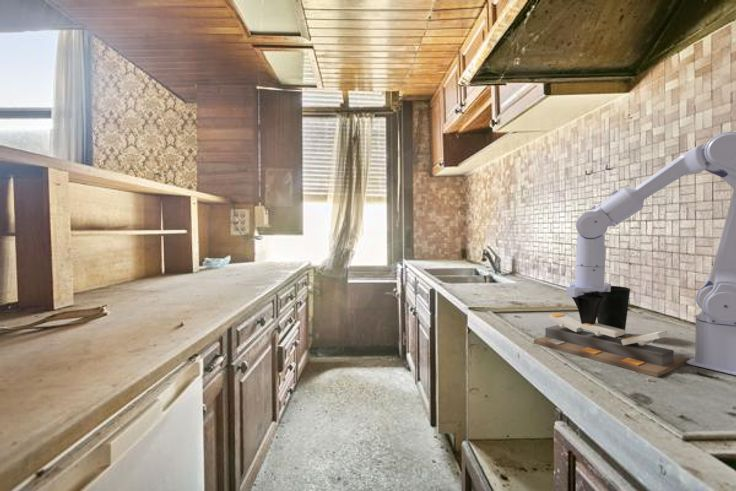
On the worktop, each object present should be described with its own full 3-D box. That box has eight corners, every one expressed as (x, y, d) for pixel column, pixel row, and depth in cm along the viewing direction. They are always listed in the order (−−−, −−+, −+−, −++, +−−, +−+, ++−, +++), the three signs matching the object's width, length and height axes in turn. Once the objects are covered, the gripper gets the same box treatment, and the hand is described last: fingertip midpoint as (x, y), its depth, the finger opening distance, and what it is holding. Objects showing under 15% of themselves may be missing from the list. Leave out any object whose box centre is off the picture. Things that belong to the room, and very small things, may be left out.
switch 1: (585, 332, 88) (587, 325, 87) (575, 334, 86) (577, 327, 85) (557, 319, 94) (559, 312, 93) (547, 321, 92) (549, 314, 91)
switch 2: (624, 337, 81) (625, 329, 81) (614, 340, 79) (615, 332, 79) (591, 329, 87) (591, 321, 87) (581, 331, 85) (581, 323, 85)
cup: (594, 336, 95) (595, 288, 94) (592, 329, 101) (593, 284, 101) (631, 340, 91) (632, 290, 91) (627, 332, 98) (627, 286, 97)
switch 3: (670, 338, 74) (666, 329, 74) (661, 342, 72) (656, 332, 72) (634, 345, 79) (630, 336, 80) (624, 348, 77) (620, 339, 78)
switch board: (689, 362, 75) (689, 347, 75) (657, 377, 68) (657, 360, 68) (568, 334, 97) (568, 322, 97) (533, 343, 89) (533, 330, 89)
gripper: (589, 262, 92) (587, 317, 92) (553, 265, 84) (551, 325, 85) (621, 265, 86) (618, 324, 86) (585, 268, 78) (583, 333, 79)
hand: (587, 325), depth 85 cm, fingers closed, pressing on switch 2
